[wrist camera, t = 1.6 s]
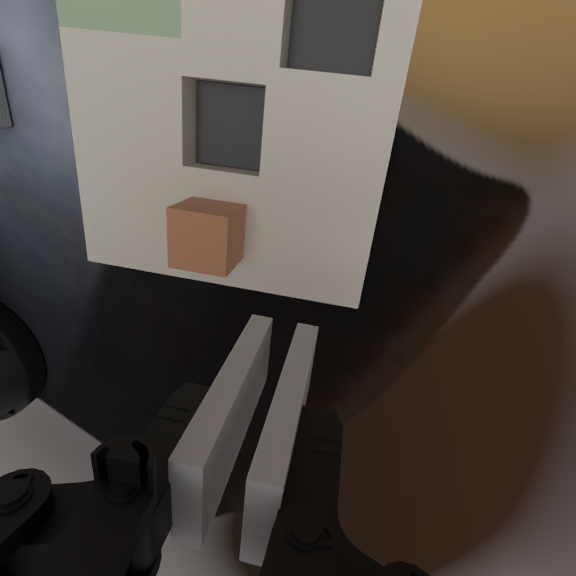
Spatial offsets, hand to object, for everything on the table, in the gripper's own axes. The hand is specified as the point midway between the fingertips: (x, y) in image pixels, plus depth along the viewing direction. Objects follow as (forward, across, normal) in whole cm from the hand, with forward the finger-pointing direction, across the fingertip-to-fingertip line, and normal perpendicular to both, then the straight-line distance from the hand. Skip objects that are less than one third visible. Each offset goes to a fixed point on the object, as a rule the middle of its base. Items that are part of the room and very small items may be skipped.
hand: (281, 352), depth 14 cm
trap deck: (+16, -8, +6) cm, 19 cm away
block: (+14, -8, 0) cm, 16 cm away
